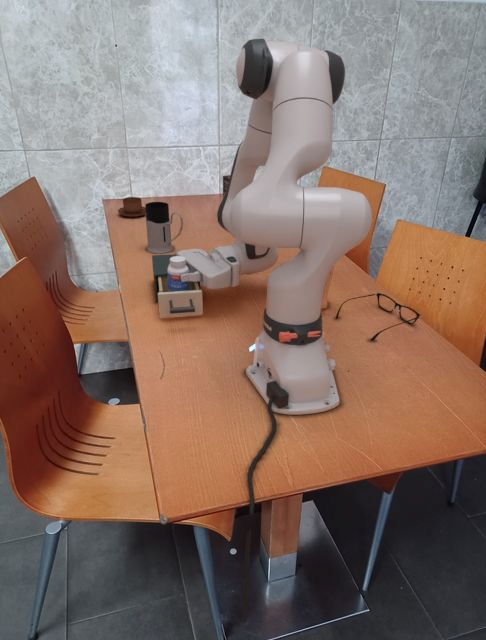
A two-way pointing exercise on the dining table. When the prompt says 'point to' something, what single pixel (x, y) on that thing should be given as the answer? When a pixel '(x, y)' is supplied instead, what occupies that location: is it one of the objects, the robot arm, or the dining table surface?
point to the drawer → (179, 300)
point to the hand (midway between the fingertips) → (174, 273)
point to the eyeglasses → (387, 311)
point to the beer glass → (326, 290)
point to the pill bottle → (177, 274)
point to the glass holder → (159, 227)
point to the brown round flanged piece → (132, 207)
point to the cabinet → (161, 269)
